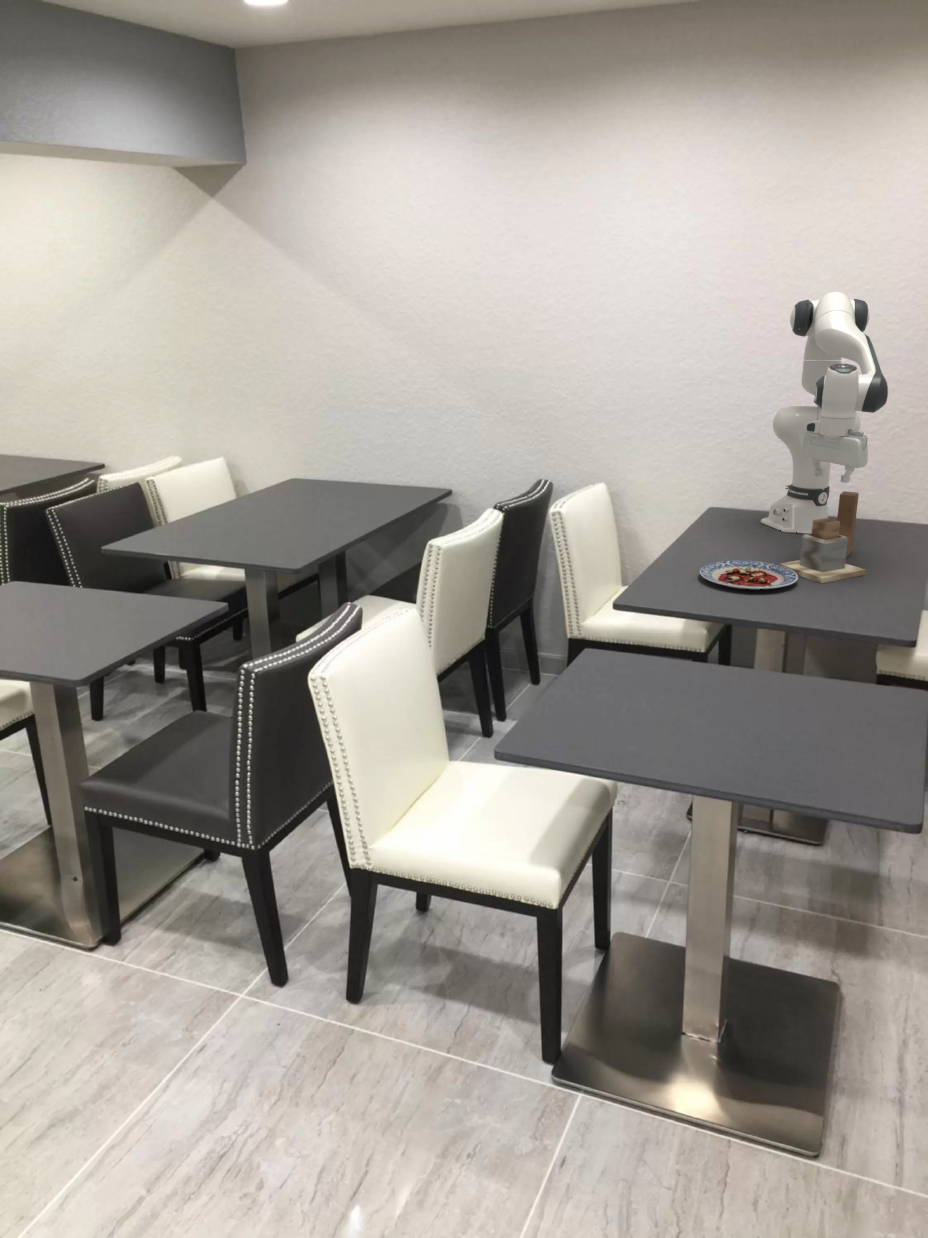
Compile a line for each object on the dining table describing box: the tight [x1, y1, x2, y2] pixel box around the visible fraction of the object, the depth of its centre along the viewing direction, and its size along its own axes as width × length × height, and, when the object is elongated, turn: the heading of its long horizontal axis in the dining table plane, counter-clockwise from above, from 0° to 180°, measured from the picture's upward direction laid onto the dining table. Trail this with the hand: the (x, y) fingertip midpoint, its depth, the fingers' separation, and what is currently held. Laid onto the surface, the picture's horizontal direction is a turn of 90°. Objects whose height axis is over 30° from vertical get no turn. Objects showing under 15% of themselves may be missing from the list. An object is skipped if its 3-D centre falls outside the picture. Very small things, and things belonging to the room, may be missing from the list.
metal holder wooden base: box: [778, 533, 866, 584], centre depth 279 cm, size 16×16×10 cm
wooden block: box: [836, 490, 860, 559], centre depth 294 cm, size 9×4×18 cm, turn 148°
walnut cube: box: [811, 517, 840, 540], centre depth 277 cm, size 5×5×5 cm
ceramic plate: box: [699, 560, 799, 591], centre depth 274 cm, size 26×26×3 cm
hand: (831, 479), depth 272 cm, fingers open, 8 cm apart
